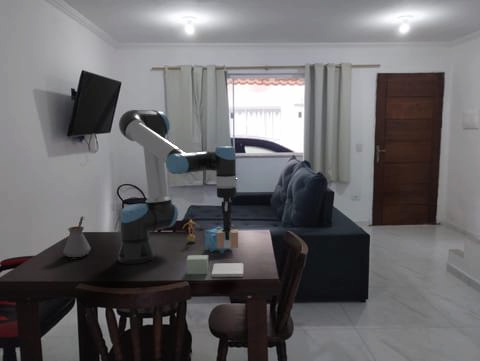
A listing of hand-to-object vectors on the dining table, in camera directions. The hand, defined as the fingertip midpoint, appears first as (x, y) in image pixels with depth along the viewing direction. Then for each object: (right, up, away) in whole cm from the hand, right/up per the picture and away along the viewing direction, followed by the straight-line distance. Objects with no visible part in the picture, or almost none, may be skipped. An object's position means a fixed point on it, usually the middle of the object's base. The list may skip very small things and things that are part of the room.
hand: (227, 245), depth 161 cm
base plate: (0, -10, +2) cm, 11 cm away
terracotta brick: (0, 0, 0) cm, 0 cm away
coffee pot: (-70, -8, +30) cm, 76 cm away
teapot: (-5, -7, +30) cm, 31 cm away
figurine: (-19, -6, +43) cm, 47 cm away
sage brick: (-12, -11, +2) cm, 16 cm away
